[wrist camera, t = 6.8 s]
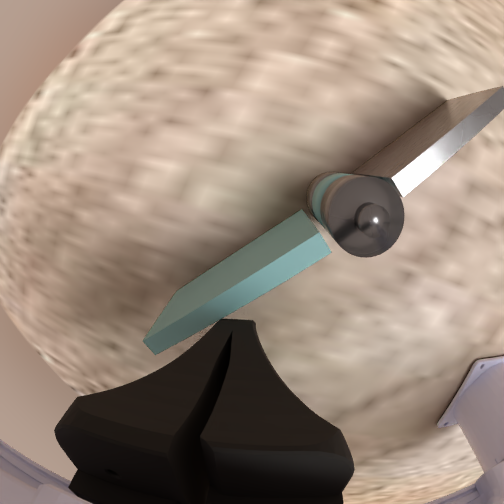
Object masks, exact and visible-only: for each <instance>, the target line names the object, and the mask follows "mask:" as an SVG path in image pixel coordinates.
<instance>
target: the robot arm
mask: <svg viewBox="0 0 504 504" xmlns="http://www.w3.org/2000/svg"><path fill="white" fill-rule="evenodd" d="M455 424H459V426H460V427H461V429H462V431H463V433H464V435H465V436H466V438H467V440H468V442H469V444H470V446H471V448H472V449H473V451H474V453H475V455H476V457H477V459H478V461H479V463H480V465H481V467H482V469H483V471H484V474H482V475H481V476H480V477H479V479H478V480H477V481H476V482H475V483H474V484H472V485H470V486H468V487H465V488H463V489H461V490H459V491H456V492H454V493H452V494H449V495H447V496H444V497H441V498H439V499H436V500H433V501H431V502H428V503H425V504H504V356H500V357H494V358H487V359H480V360H477V361H476V362H475V363H474V364H473V366H472V368H471V370H470V372H469V373H468V375H467V377H466V379H465V381H464V382H463V384H462V386H461V387H460V389H459V391H458V392H457V394H456V396H455V397H454V399H453V401H452V402H451V404H450V405H449V407H448V408H447V410H446V411H445V413H444V414H443V416H442V417H441V419H440V420H439V422H438V423H437V427H438V428H442V427H447V426H451V425H455ZM54 431H55V436H56V439H57V441H58V443H59V445H60V446H61V448H62V449H63V450H64V452H65V453H66V455H67V456H68V457H69V458H70V460H71V461H72V462H73V464H74V465H75V466H76V468H77V469H78V470H77V472H76V473H75V475H74V477H73V479H72V481H69V480H67V479H65V478H63V477H61V476H59V475H57V474H56V473H54V472H52V471H50V470H48V469H46V468H44V467H43V466H41V465H39V464H37V463H36V462H34V461H32V460H31V459H29V458H27V457H26V456H24V455H23V454H21V453H20V452H18V451H17V450H15V449H14V448H12V447H10V446H9V445H8V444H6V443H5V442H3V441H2V440H1V439H0V504H343V496H342V491H343V490H344V488H345V487H346V485H347V484H348V482H349V481H350V479H351V477H352V476H353V473H354V470H355V469H354V463H353V458H352V455H351V453H350V450H349V447H348V445H347V443H346V440H345V438H344V436H343V434H342V432H341V430H340V429H338V428H337V427H335V426H333V425H332V424H330V423H329V422H327V421H326V420H324V419H323V418H321V417H320V416H318V415H317V414H315V413H314V412H313V411H312V410H311V409H309V408H308V407H307V406H306V405H305V404H304V403H303V402H302V401H301V400H300V399H299V398H298V397H297V396H296V395H295V394H294V393H293V392H292V391H291V390H290V389H289V388H288V387H287V386H286V384H285V383H284V382H283V381H282V379H281V378H280V377H279V375H278V374H277V373H276V371H275V370H274V368H273V366H272V365H271V363H270V361H269V360H268V358H267V356H266V354H265V352H264V350H263V348H262V345H261V343H260V341H259V338H258V335H257V331H256V323H255V322H254V321H253V320H236V319H220V320H219V321H218V322H217V323H216V324H215V325H214V326H213V327H212V328H211V329H210V330H209V331H208V332H207V333H206V334H205V335H204V336H203V337H202V338H201V339H200V340H199V341H198V342H196V343H195V344H194V345H193V346H192V347H191V348H189V349H188V350H187V351H186V352H184V353H183V354H182V355H181V356H179V357H178V358H177V359H175V360H174V361H172V362H171V363H169V364H167V365H166V366H164V367H162V368H161V369H159V370H157V371H155V372H153V373H151V374H149V375H147V376H145V377H143V378H141V379H138V380H136V381H134V382H131V383H129V384H126V385H123V386H120V387H117V388H114V389H111V390H107V391H103V392H99V393H94V394H90V395H85V396H79V397H77V398H76V399H75V400H74V402H73V403H72V405H71V406H70V407H69V409H68V410H67V411H66V413H65V414H64V416H63V417H62V418H61V420H60V421H59V423H58V424H57V425H56V427H55V430H54Z"/></svg>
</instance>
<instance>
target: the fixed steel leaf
mask: <svg viewBox="0 0 504 504" xmlns="http://www.w3.org/2000/svg"><path fill="white" fill-rule="evenodd" d="M503 109H504V88H503V86H501V87H497V88H493V89H488V90H484V91H480V92H476V93H472V94H468V95H465V96H461V97H457V98H454V99H450V100H447V101H446V102H445V103H443V104H442V105H441V106H440V107H438V108H437V109H436V110H434V111H433V112H432V113H430V114H429V115H428V116H426V117H425V118H424V119H422V120H421V121H420V122H418V123H417V124H416V125H414V126H413V127H412V128H410V129H409V130H408V131H406V132H405V133H404V134H402V135H401V136H400V137H398V138H397V139H396V140H395V141H393V142H392V143H391V144H389V145H388V146H387V147H385V148H384V149H383V150H381V151H380V152H379V153H377V154H376V155H375V156H373V157H372V158H371V159H369V160H368V161H367V162H366V163H364V164H363V165H362V166H360V167H359V168H358V169H356V170H355V171H354V172H352V174H353V175H346V176H343V177H341V178H338V179H337V180H335V181H334V182H333V183H331V184H330V186H329V187H328V188H327V189H326V191H325V193H324V195H323V197H322V200H321V205H320V215H321V219H322V223H323V225H324V227H325V229H326V230H327V231H328V233H329V234H330V235H331V236H332V237H333V238H334V240H335V241H336V242H337V243H338V244H339V245H340V247H342V248H343V249H344V250H345V251H346V252H348V253H350V254H352V255H354V256H358V257H373V256H377V255H380V254H382V253H384V252H385V251H387V250H388V249H389V248H390V247H391V246H392V245H393V244H394V243H395V242H396V240H397V239H398V237H399V235H400V234H401V231H402V228H403V224H404V208H403V203H402V201H401V198H400V196H401V197H404V196H405V195H406V194H408V193H409V192H410V191H411V190H413V189H414V188H415V187H416V186H417V185H419V184H420V183H421V182H422V181H423V180H425V179H426V178H427V177H428V176H429V175H431V174H432V173H433V172H434V171H435V170H436V169H438V168H439V167H440V166H441V165H442V164H443V163H445V162H446V161H447V160H448V159H449V158H450V157H452V156H453V155H454V154H455V153H456V152H457V151H458V150H460V149H461V148H462V147H463V146H464V145H465V144H466V143H467V142H469V141H470V140H471V139H472V138H473V137H474V136H475V135H476V134H477V133H479V132H480V131H481V130H482V129H483V128H484V127H485V126H486V125H487V124H488V123H489V122H490V121H491V120H493V119H494V118H495V117H496V116H497V115H498V114H499V113H500V112H501V111H502V110H503ZM332 174H336V172H327V173H323V174H321V175H319V176H317V177H316V178H315V179H314V180H313V181H312V182H311V184H310V185H309V187H308V190H307V196H306V200H307V205H308V208H309V210H310V212H311V213H312V214H313V216H314V217H315V214H314V212H313V208H312V198H313V193H314V191H315V189H316V187H317V185H318V184H319V183H320V182H321V181H322V180H323V179H324V178H326V177H327V176H329V175H332ZM315 218H316V217H315ZM316 219H317V218H316Z"/></svg>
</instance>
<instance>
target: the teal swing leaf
mask: <svg viewBox="0 0 504 504" xmlns="http://www.w3.org/2000/svg"><path fill="white" fill-rule="evenodd" d="M346 175H353V174H345V173H336V174H332V175H329V176H327V177H326V178H324V179H323V180H322V181H321V182H320V183H319V184H318V185H317V187H316V189H315V191H314V193H313V198H312V208H313V212H314V214H315V217H316V218H317V220H318V221H319V222H320V224H321V225H322V226H323V227H324V225H323V223H322V219H321V215H320V205H321V200H322V197H323V195H324V193H325V191H326V189H327V188H328V187H329V186H330V184H331V183H333V182H334V181H335V180H337V179H338V178H341V177H343V176H346ZM324 228H325V227H324ZM330 253H331V250H330V249H329V247H328V246H327V244H326V242H325V241H324V239H323V237H322V236H321V234H320V232H319V231H318V230H317V228H316V227H315V226H314V224H313V223H312V222H311V220H310V219H309V218H308V217H307V215H306V214H305V213H304V211H303V210H302V209H301V210H300V211H298V212H297V213H295V214H294V215H292V216H291V217H289V218H287V219H286V220H284V221H283V222H281V223H280V224H278V225H277V226H275V227H274V228H272V229H271V230H269V231H267V232H266V233H264V234H263V235H261V236H260V237H258V238H257V239H255V240H254V241H252V242H251V243H249V244H247V245H246V246H244V247H243V248H241V249H240V250H238V251H237V252H235V253H234V254H232V255H231V256H229V257H228V258H226V259H225V260H223V261H222V262H220V263H218V264H217V265H215V266H214V267H212V268H211V269H209V270H208V271H206V272H205V273H203V274H202V275H200V276H199V277H197V278H196V279H194V280H193V281H191V282H190V283H188V284H187V285H185V286H184V287H182V288H181V289H179V290H178V291H176V293H175V294H174V295H173V297H172V298H171V300H170V301H169V303H168V304H167V306H166V307H165V309H164V310H163V311H162V313H161V314H160V316H159V317H158V319H157V320H156V322H155V323H154V325H153V326H152V328H151V329H150V331H149V332H148V334H147V335H146V337H145V338H144V340H143V342H144V343H145V344H146V345H147V347H148V348H149V349H150V350H151V351H152V352H153V353H154V354H155V355H156V354H158V353H160V352H162V351H164V350H166V349H168V348H170V347H171V346H173V345H175V344H177V343H179V342H181V341H182V340H184V339H186V338H188V337H190V336H192V335H193V334H195V333H197V332H199V331H201V330H202V329H204V328H206V327H208V326H209V325H211V324H213V323H215V322H217V321H218V320H220V319H222V318H224V317H225V316H227V315H229V314H231V313H232V312H234V311H236V310H237V309H239V308H241V307H243V306H244V305H246V304H248V303H250V302H251V301H253V300H255V299H256V298H258V297H260V296H261V295H263V294H265V293H266V292H268V291H270V290H271V289H273V288H275V287H276V286H278V285H280V284H281V283H283V282H285V281H286V280H288V279H290V278H291V277H293V276H295V275H296V274H298V273H299V272H301V271H303V270H304V269H306V268H307V267H309V266H311V265H312V264H314V263H316V262H317V261H319V260H320V259H322V258H323V257H325V256H327V255H328V254H330Z"/></svg>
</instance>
